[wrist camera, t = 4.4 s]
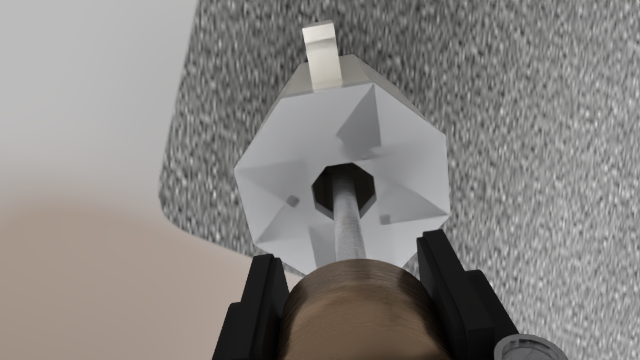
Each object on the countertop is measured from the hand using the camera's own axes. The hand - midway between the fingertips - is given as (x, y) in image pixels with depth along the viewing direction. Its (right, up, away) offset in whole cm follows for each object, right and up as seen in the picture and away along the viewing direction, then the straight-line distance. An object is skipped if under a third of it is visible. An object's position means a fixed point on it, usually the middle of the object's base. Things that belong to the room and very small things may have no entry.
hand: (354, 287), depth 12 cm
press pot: (0, +9, +18) cm, 20 cm away
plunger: (0, +5, +12) cm, 14 cm away
